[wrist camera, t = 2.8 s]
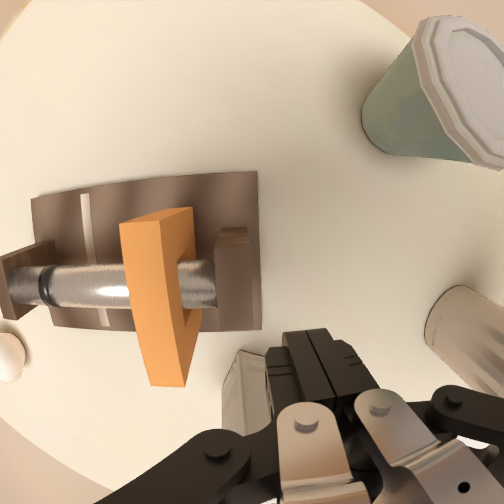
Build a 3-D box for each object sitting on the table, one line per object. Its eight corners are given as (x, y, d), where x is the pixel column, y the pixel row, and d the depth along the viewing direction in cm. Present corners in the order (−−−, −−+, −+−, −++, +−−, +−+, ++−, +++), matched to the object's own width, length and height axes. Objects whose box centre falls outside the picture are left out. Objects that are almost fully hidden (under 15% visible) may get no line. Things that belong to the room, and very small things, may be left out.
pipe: (249, 250, 18) (251, 263, 15) (251, 296, 19) (253, 316, 16) (13, 262, 18) (-10, 272, 14) (20, 296, 18) (0, 309, 15)
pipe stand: (255, 172, 23) (266, 162, 14) (260, 322, 27) (271, 384, 17) (38, 197, 23) (-24, 207, 13) (60, 320, 26) (14, 361, 16)
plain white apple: (0, 314, 25) (-34, 338, 18) (33, 341, 26) (0, 372, 19) (1, 349, 27) (-27, 374, 19) (33, 374, 28) (6, 405, 20)
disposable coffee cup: (356, 183, 24) (476, 186, 9) (322, 76, 22) (399, -13, 7) (437, 164, 24) (549, 163, 9) (408, 70, 21) (501, 21, 7)
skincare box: (221, 386, 28) (215, 501, 14) (239, 345, 27) (242, 468, 13) (289, 402, 29) (314, 507, 15) (312, 364, 28) (355, 473, 14)
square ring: (192, 206, 20) (159, 220, 12) (202, 317, 22) (184, 387, 14) (166, 208, 20) (119, 223, 12) (179, 317, 22) (150, 385, 14)
